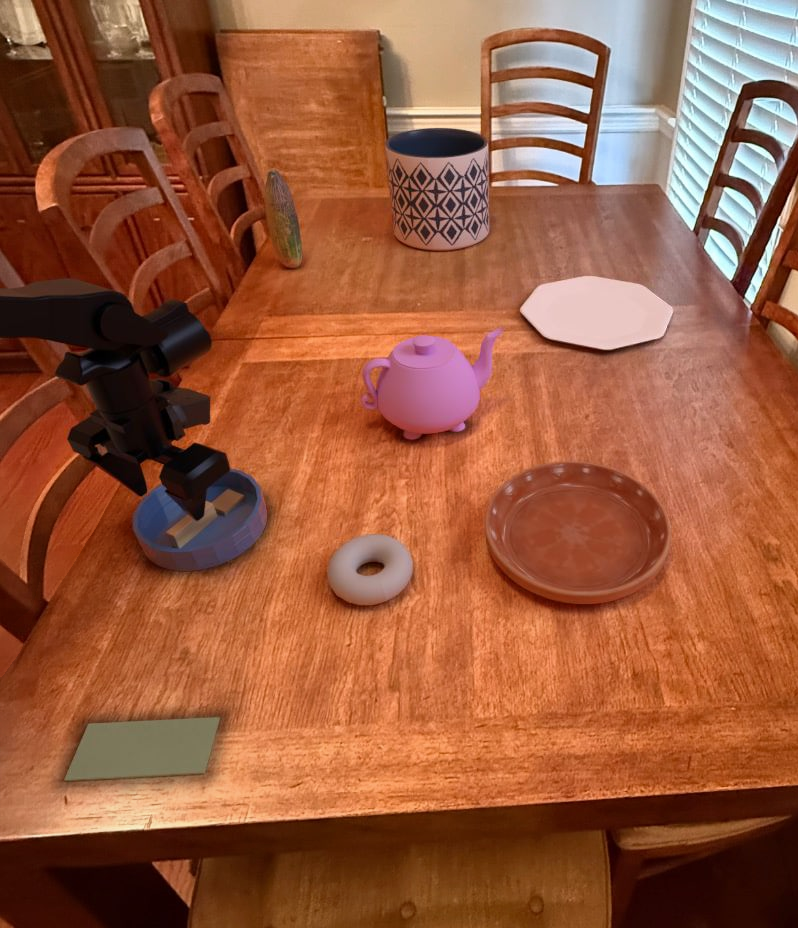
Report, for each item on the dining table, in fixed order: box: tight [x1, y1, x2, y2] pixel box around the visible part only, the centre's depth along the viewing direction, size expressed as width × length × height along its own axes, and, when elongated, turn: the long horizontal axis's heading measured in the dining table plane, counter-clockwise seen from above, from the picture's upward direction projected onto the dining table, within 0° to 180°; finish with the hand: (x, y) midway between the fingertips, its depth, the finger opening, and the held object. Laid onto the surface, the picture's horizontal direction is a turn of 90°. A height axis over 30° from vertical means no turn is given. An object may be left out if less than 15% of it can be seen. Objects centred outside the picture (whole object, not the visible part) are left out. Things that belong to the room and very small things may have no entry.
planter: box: [384, 127, 490, 252], centre depth 157 cm, size 22×22×20 cm
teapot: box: [360, 328, 505, 440], centre depth 103 cm, size 22×16×14 cm
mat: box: [63, 716, 221, 782], centre depth 66 cm, size 13×6×1 cm, turn 93°
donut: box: [326, 533, 414, 606], centre depth 82 cm, size 10×3×10 cm
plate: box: [519, 275, 674, 352], centre depth 133 cm, size 28×28×2 cm
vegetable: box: [263, 169, 304, 269], centre depth 142 cm, size 6×6×20 cm
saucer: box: [484, 460, 672, 605], centre depth 86 cm, size 23×23×4 cm
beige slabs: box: [166, 489, 245, 548], centre depth 88 cm, size 11×3×2 cm, turn 154°
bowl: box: [132, 468, 268, 572], centre depth 88 cm, size 15×15×4 cm
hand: (171, 506), depth 83 cm, fingers open, 9 cm apart
